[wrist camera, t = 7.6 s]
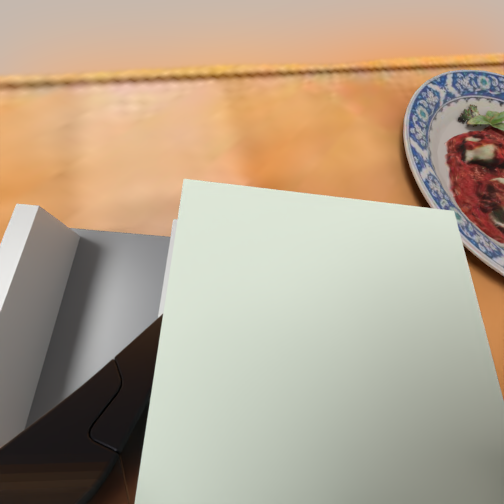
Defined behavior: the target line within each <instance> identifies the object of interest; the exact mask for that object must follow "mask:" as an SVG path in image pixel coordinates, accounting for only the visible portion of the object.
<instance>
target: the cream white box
mask: <svg viewBox="0 0 504 504" xmlns="http://www.w3.org/2000/svg"><path fill="white" fill-rule="evenodd" d="M135 504H504V401H503V397H502V393H501V389H500V385H499V381H498V378H497V374H496V370H495V366H494V362H493V358H492V355H491V351H490V347H489V343H488V339H487V335H486V332H485V328H484V324H483V320H482V316H481V312H480V309H479V305H478V301H477V297H476V293H475V289H474V286H473V282H472V278H471V274H470V270H469V266H468V263H467V259H466V255H465V251H464V247H463V243H462V240H461V236H460V232H459V228H458V224H457V220H456V217H455V213H454V211H451V210H442V209H434V208H426V207H417V206H409V205H400V204H392V203H383V202H375V201H367V200H358V199H350V198H341V197H333V196H325V195H316V194H308V193H299V192H291V191H283V190H274V189H266V188H257V187H249V186H241V185H232V184H224V183H215V182H207V181H199V180H190V179H184V181H183V187H182V194H181V200H180V207H179V214H178V220H177V227H176V233H175V240H174V247H173V253H172V260H171V266H170V273H169V279H168V286H167V293H166V299H165V306H164V312H163V319H162V326H161V332H160V339H159V345H158V352H157V359H156V365H155V372H154V378H153V385H152V392H151V398H150V405H149V411H148V418H147V424H146V431H145V438H144V444H143V451H142V457H141V464H140V471H139V477H138V484H137V490H136V497H135Z"/></svg>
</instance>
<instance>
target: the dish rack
mask: <svg viewBox="0 0 504 504" xmlns="http://www.w3.org/2000/svg"><path fill="white" fill-rule="evenodd" d="M177 220H178V219H173V225H172V231H171V237H165V236H154V235H142V234H131V233H120V232H108V231H97V230H86V229H74V228H68V227H67V226H66V225H64V224H63V223H62V222H60V221H59V220H58V219H56V218H55V217H53V216H52V215H51V214H49V213H48V212H47V211H45V210H44V209H43V208H41V207H40V206H35V205H25V204H16V207H15V209H14V212H13V214H12V217H11V219H10V222H9V224H8V227H7V229H6V232H5V234H4V237H3V239H2V242H1V244H0V448H1V447H2V446H4V445H5V444H6V443H8V442H9V441H10V440H11V439H13V438H14V437H15V436H17V435H18V434H19V433H21V432H22V431H23V430H25V429H26V428H27V427H29V426H30V425H31V424H33V423H34V422H35V421H36V420H38V419H39V418H40V417H42V416H43V415H44V414H46V413H47V412H48V411H50V410H51V409H52V408H54V407H55V406H56V405H58V404H59V403H60V402H61V401H63V400H64V399H65V398H66V397H68V396H69V395H70V394H72V393H73V392H74V391H75V390H77V389H78V388H79V387H80V386H82V385H83V384H84V383H85V382H86V381H88V380H89V379H90V378H91V377H92V376H93V375H95V374H96V373H97V372H98V371H99V370H100V369H102V368H103V367H104V366H105V365H106V364H107V363H108V362H109V361H110V360H112V359H114V357H115V356H116V355H117V354H118V353H120V352H121V351H122V350H123V349H124V348H125V347H126V346H127V345H128V344H130V343H131V342H132V341H133V340H134V339H135V338H136V337H137V336H138V335H140V334H141V333H142V332H143V331H144V330H145V329H146V328H147V327H148V326H150V325H151V324H152V323H153V322H154V321H155V320H156V319H157V318H158V317H160V316H161V315H162V314H163V312H164V306H165V299H166V293H167V286H168V279H169V273H170V266H171V260H172V253H173V247H174V240H175V233H176V227H177Z"/></svg>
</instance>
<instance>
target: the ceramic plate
mask: <svg viewBox="0 0 504 504" xmlns="http://www.w3.org/2000/svg"><path fill="white" fill-rule="evenodd" d="M403 137H404V146H405V151H406V155H407V159H408V162H409V166H410V169H411V171H412V173H413V176H414V178H415V180H416V182H417V184H418V186H419V188H420V190H421V192H422V194H423V196H424V197H425V199H426V201H427V202H428V204H429V205H430V207H431V208H434V209H442V210H451V211H454V213H455V217H456V220H457V224H458V228H459V232H460V236H461V240H462V243H463V245H464V246H465V247H466V248H467V249H468V250H469V251H470V252H472V253H473V254H474V255H475V256H476V257H478V258H479V259H480V260H481V261H483V262H484V263H485V264H486V265H488V266H489V267H491V268H492V269H494V270H495V271H497V272H498V273H500V274H501V275H503V276H504V75H500V74H497V73H492V72H487V71H479V70H457V71H449V72H445V73H442V74H440V75H437V76H435V77H433V78H431V79H429V80H428V81H426V82H425V83H424V84H423V85H421V86H420V88H419V89H418V90H417V91H416V92H415V94H414V95H413V97H412V98H411V100H410V102H409V104H408V106H407V110H406V113H405V117H404V127H403Z"/></svg>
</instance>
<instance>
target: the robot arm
mask: <svg viewBox="0 0 504 504" xmlns="http://www.w3.org/2000/svg"><path fill="white" fill-rule="evenodd" d="M162 319H163V314H162V315H161V316H160V317H158V318H157V319H156V320H155V321H154V322H153V323H152V324H151V325H150V326H148V327H147V328H146V329H145V330H144V331H143V332H142V333H141V334H140V335H138V336H137V337H136V338H135V339H134V340H133V341H132V342H131V343H130V344H128V345H127V346H126V347H125V348H124V349H123V350H122V351H121V352H120V353H118V354H117V355H116V356H115V357H114V359H112V360H110V361H109V362H108V363H107V364H106V365H105V366H104V367H103V368H102V369H100V370H99V371H98V372H97V373H96V374H95V375H93V376H92V377H91V378H90V379H89V380H88V381H86V382H85V383H84V384H83V385H82V386H80V387H79V388H78V389H77V390H75V391H74V392H73V393H72V394H70V395H69V396H68V397H66V398H65V399H64V400H63V401H61V402H60V403H59V404H58V405H56V406H55V407H54V408H52V409H51V410H50V411H48V412H47V413H46V414H44V415H43V416H42V417H40V418H39V419H38V420H36V421H35V422H34V423H33V424H31V425H30V426H29V427H27V428H26V429H25V430H23V431H22V432H21V433H19V434H18V435H17V436H15V437H14V438H13V439H11V440H10V441H9V442H8V443H6V444H5V445H4V446H2V447H1V448H0V504H135V497H136V490H137V484H138V477H139V471H140V464H141V457H142V451H143V444H144V438H145V431H146V424H147V418H148V411H149V405H150V398H151V392H152V385H153V378H154V372H155V365H156V359H157V352H158V345H159V339H160V332H161V326H162Z"/></svg>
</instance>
